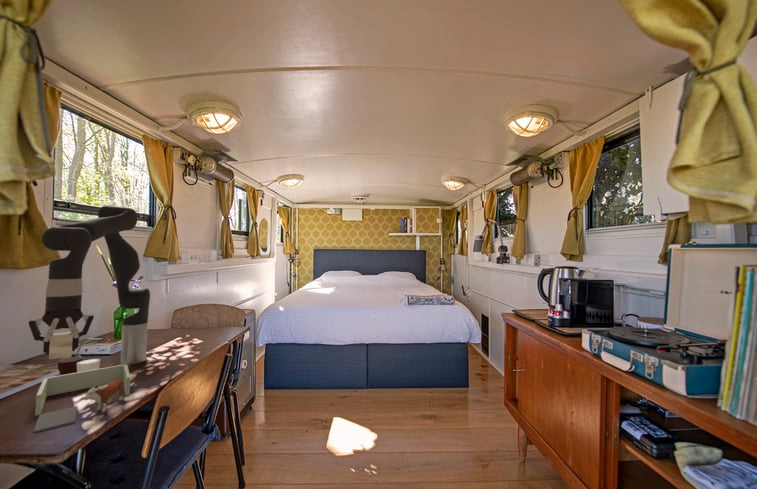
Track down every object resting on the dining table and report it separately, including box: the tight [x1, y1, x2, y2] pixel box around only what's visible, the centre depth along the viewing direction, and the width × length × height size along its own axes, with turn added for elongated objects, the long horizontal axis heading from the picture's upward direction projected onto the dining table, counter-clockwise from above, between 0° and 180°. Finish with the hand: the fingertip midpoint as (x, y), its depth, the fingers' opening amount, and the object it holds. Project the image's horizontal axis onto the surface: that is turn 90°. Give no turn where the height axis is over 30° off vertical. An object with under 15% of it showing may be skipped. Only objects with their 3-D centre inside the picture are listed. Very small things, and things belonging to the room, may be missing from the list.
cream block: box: [48, 331, 73, 360], centre depth 91 cm, size 5×5×6 cm
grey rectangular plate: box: [33, 405, 78, 434], centre depth 90 cm, size 12×8×1 cm, turn 42°
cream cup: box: [77, 358, 101, 372], centre depth 120 cm, size 7×7×7 cm
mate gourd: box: [57, 335, 91, 375], centre depth 124 cm, size 8×8×15 cm
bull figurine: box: [83, 378, 124, 413], centre depth 98 cm, size 4×13×8 cm, turn 4°
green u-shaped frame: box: [34, 364, 131, 417], centre depth 106 cm, size 18×22×6 cm
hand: (61, 351), depth 91 cm, fingers closed on cream block, 4 cm apart
